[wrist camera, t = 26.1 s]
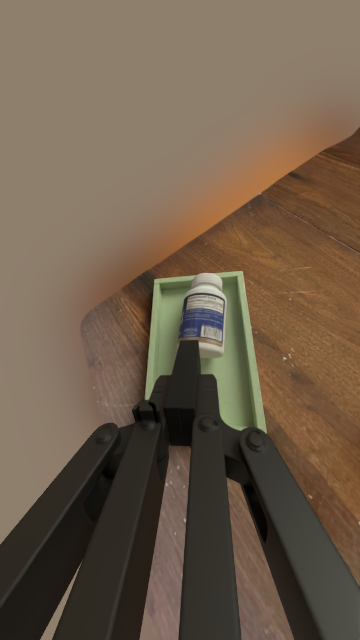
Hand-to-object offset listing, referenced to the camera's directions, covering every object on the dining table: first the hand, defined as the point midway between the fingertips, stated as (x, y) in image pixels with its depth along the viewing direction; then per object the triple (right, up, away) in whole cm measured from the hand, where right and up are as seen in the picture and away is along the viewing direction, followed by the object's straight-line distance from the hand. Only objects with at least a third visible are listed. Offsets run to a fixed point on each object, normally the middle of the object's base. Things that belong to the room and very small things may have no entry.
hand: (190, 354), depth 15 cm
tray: (+2, -1, +9) cm, 9 cm away
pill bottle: (+1, -1, +5) cm, 6 cm away
